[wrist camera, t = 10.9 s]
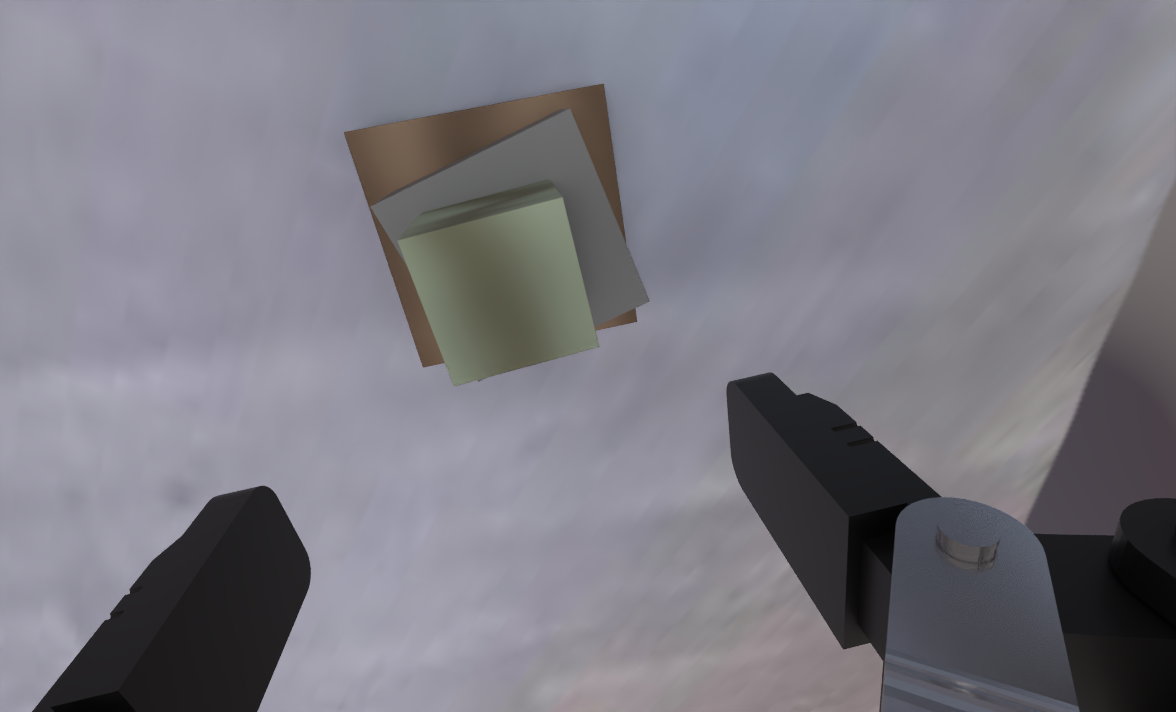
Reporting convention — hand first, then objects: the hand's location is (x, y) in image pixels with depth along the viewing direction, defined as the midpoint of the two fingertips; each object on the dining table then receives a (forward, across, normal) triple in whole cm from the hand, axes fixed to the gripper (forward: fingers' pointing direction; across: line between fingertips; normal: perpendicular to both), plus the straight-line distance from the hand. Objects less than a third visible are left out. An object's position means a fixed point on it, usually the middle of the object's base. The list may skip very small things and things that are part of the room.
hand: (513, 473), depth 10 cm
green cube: (+16, 0, 0) cm, 16 cm away
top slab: (+20, 0, 0) cm, 20 cm away
